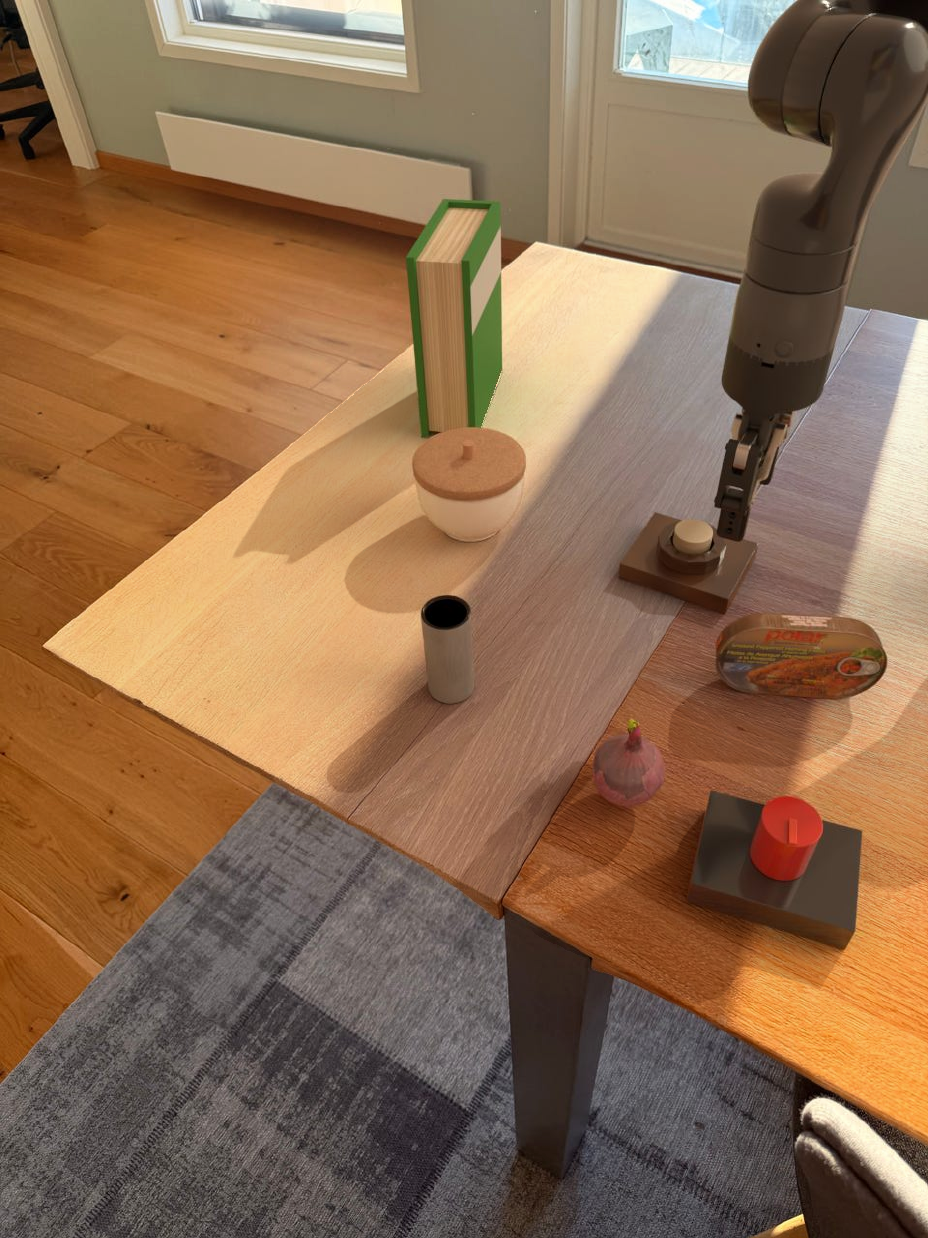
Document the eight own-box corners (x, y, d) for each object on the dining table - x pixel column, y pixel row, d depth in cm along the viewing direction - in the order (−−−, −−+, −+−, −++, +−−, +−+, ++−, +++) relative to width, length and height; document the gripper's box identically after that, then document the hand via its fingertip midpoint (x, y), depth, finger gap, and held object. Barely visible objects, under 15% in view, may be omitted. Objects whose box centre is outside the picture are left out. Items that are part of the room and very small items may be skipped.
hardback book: (475, 442, 118) (469, 260, 101) (421, 436, 120) (405, 257, 103) (502, 373, 130) (500, 201, 113) (452, 369, 132) (443, 198, 115)
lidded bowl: (545, 510, 108) (547, 431, 100) (488, 571, 100) (485, 490, 92) (457, 478, 113) (452, 400, 105) (396, 534, 105) (387, 455, 98)
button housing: (755, 558, 100) (762, 530, 97) (725, 614, 94) (731, 586, 91) (652, 526, 105) (656, 499, 102) (618, 578, 99) (621, 550, 96)
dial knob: (750, 826, 73) (763, 788, 69) (807, 837, 72) (823, 799, 68) (748, 874, 70) (761, 837, 66) (808, 886, 69) (824, 850, 65)
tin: (709, 691, 87) (723, 629, 81) (707, 666, 89) (721, 605, 83) (873, 703, 85) (900, 641, 79) (867, 678, 87) (893, 616, 81)
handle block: (852, 850, 74) (862, 830, 72) (845, 950, 68) (855, 931, 66) (705, 809, 78) (710, 789, 75) (685, 902, 72) (690, 883, 70)
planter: (418, 687, 89) (410, 612, 81) (451, 662, 91) (446, 587, 84) (451, 712, 86) (445, 637, 79) (484, 685, 88) (481, 610, 81)
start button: (716, 538, 97) (718, 525, 96) (703, 560, 95) (705, 547, 94) (680, 527, 99) (682, 514, 98) (666, 548, 96) (668, 535, 95)
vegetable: (655, 766, 81) (669, 694, 74) (664, 826, 77) (679, 755, 69) (587, 766, 81) (594, 693, 74) (591, 825, 77) (599, 754, 70)
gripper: (758, 283, 72) (725, 454, 83) (703, 367, 63) (674, 545, 75) (855, 300, 69) (808, 474, 81) (812, 389, 61) (765, 570, 72)
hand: (744, 508), depth 78 cm, fingers open, 8 cm apart
